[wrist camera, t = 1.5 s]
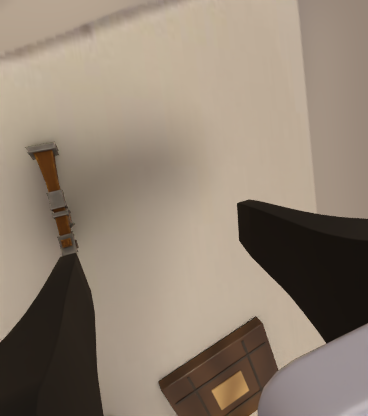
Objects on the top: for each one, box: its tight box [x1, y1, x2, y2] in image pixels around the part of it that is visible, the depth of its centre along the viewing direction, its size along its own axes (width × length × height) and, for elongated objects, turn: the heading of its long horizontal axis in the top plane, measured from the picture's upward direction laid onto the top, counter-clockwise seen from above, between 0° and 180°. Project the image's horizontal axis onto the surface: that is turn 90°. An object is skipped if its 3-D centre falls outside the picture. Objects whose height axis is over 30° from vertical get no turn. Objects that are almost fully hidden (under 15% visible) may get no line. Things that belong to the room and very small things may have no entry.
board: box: [159, 317, 278, 416], centre depth 34 cm, size 13×13×1 cm
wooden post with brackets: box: [25, 142, 79, 256], centre depth 20 cm, size 2×8×4 cm, turn 8°
